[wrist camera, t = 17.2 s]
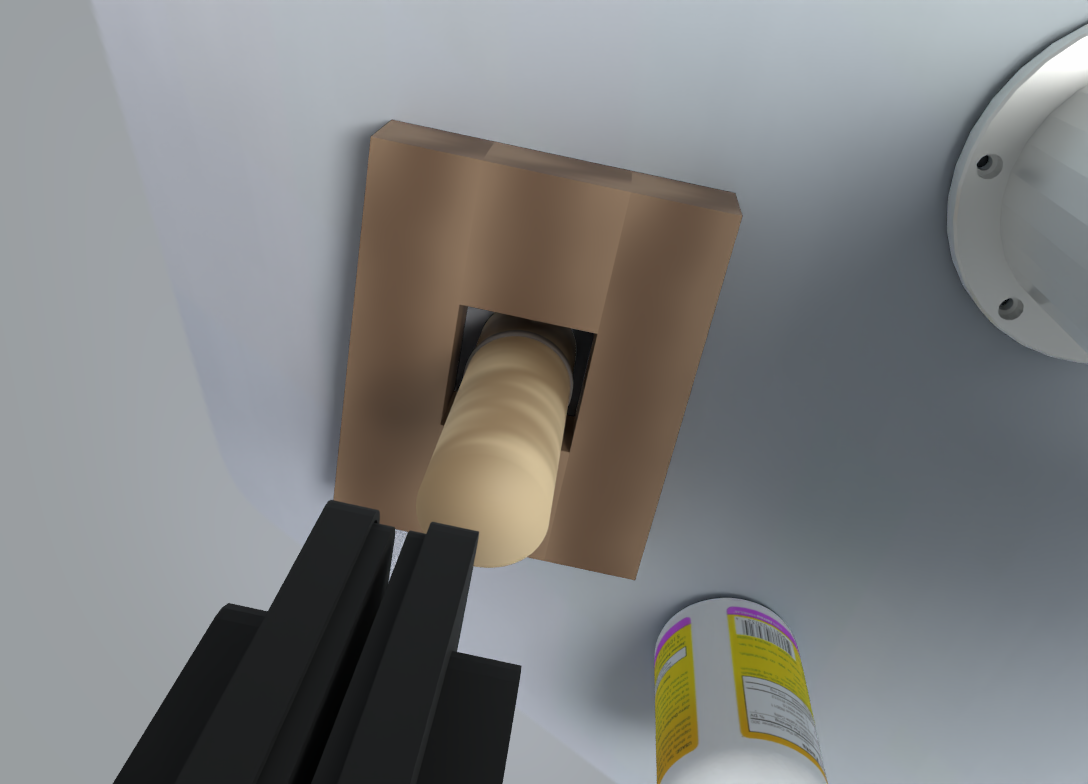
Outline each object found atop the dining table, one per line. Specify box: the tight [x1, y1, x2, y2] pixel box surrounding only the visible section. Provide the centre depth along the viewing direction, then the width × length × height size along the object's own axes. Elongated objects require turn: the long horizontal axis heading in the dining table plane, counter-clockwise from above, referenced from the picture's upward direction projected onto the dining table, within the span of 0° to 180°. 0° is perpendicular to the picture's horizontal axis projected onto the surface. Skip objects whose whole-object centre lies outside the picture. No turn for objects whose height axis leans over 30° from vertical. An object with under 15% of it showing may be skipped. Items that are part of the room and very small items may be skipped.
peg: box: [416, 312, 576, 568], centre depth 33 cm, size 4×4×12 cm
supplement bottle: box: [654, 598, 828, 784], centre depth 39 cm, size 7×7×13 cm
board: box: [334, 120, 742, 580], centre depth 37 cm, size 13×16×3 cm
